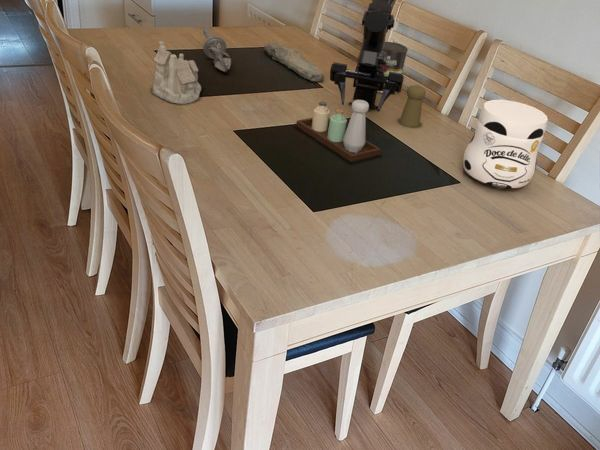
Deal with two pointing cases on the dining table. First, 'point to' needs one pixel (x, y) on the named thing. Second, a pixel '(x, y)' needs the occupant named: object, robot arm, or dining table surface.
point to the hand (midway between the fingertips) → (360, 107)
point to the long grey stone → (294, 61)
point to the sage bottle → (337, 126)
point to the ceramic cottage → (175, 77)
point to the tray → (338, 147)
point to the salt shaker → (356, 127)
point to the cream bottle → (320, 117)
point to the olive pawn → (413, 106)
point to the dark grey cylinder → (394, 59)
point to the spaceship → (216, 50)
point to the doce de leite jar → (505, 144)
